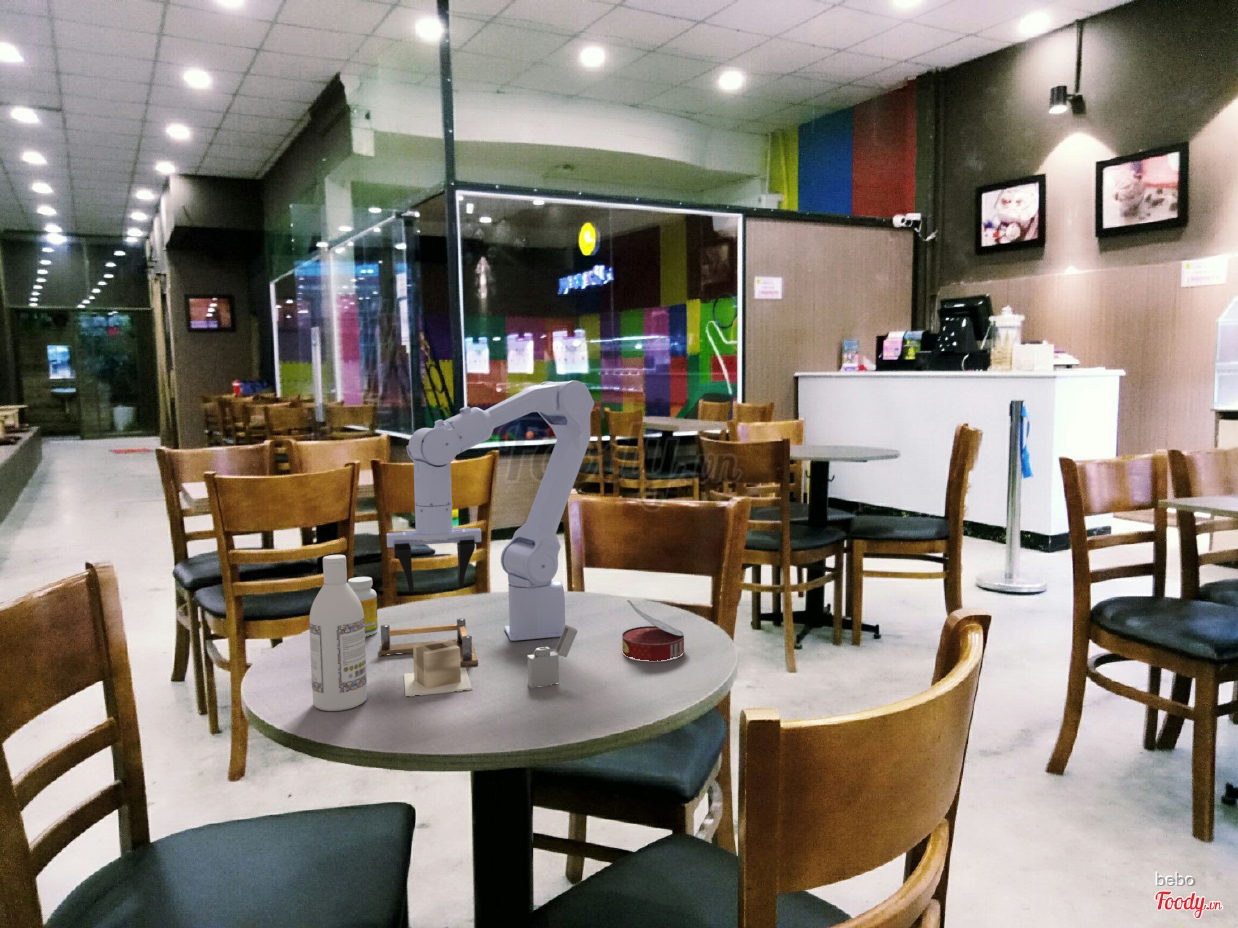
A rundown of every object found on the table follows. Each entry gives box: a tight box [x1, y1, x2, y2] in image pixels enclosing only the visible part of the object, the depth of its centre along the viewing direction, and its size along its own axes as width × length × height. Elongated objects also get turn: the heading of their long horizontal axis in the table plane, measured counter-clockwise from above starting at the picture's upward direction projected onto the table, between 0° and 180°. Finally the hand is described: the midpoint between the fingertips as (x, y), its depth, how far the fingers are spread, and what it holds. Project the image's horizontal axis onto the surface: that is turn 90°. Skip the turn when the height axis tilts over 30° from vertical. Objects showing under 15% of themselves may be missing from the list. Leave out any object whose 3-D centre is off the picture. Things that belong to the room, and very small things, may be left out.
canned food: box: [621, 599, 685, 661], centre depth 133 cm, size 11×10×10 cm
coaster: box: [403, 667, 473, 698], centre depth 120 cm, size 9×9×1 cm
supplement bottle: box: [347, 576, 379, 637], centre depth 144 cm, size 5×5×10 cm
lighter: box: [526, 624, 578, 689], centre depth 119 cm, size 7×2×8 cm, turn 113°
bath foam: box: [308, 554, 368, 712], centre depth 112 cm, size 7×7×20 cm
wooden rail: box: [378, 618, 479, 668], centre depth 131 cm, size 14×12×4 cm
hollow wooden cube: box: [412, 638, 461, 689], centre depth 120 cm, size 5×5×5 cm
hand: (436, 588), depth 133 cm, fingers open, 7 cm apart
